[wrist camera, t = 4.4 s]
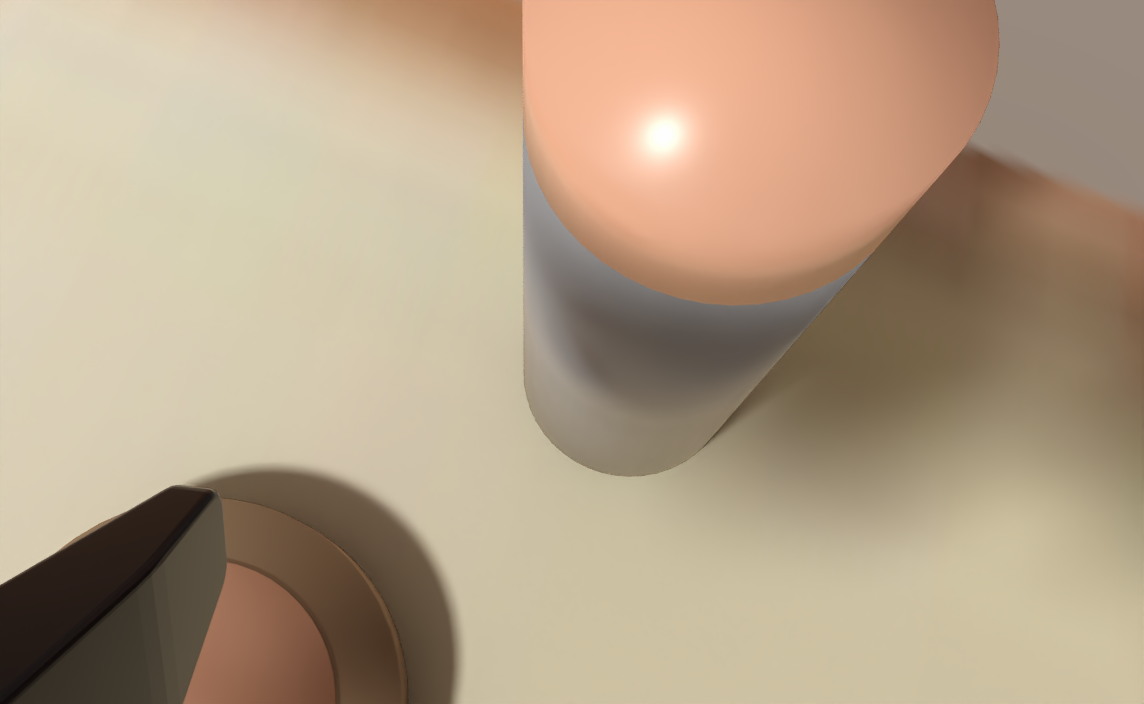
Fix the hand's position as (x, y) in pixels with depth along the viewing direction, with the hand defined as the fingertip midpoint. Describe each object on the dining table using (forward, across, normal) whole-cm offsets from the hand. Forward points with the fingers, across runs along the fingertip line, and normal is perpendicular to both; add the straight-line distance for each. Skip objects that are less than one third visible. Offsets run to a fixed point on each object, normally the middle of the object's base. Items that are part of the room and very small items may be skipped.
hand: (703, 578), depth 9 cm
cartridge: (+12, 0, +5) cm, 13 cm away
